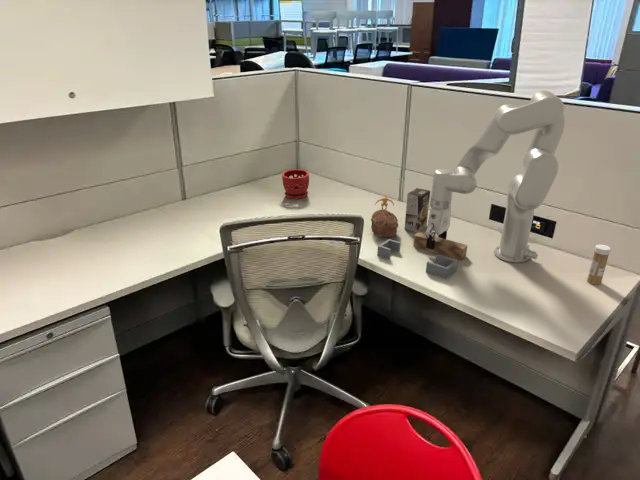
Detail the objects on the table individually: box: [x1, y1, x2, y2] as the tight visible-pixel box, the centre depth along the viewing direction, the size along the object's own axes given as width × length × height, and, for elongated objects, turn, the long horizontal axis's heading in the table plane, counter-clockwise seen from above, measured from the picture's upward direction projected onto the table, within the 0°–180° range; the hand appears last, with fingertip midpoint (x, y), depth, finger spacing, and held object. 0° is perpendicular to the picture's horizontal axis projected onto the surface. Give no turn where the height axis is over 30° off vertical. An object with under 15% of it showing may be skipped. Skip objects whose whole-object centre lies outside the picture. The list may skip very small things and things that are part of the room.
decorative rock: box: [370, 208, 399, 238], centre depth 202 cm, size 13×11×10 cm
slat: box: [413, 231, 468, 261], centre depth 189 cm, size 20×4×5 cm, turn 53°
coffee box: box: [404, 187, 431, 233], centre depth 206 cm, size 9×6×16 cm
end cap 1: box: [376, 238, 401, 260], centre depth 187 cm, size 5×8×4 cm, turn 141°
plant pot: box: [281, 169, 310, 200], centre depth 241 cm, size 13×13×12 cm
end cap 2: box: [425, 253, 459, 280], centre depth 174 cm, size 8×8×4 cm
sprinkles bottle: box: [586, 243, 612, 286], centre depth 165 cm, size 5×5×13 cm
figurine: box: [374, 194, 395, 210], centre depth 214 cm, size 8×6×12 cm
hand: (436, 244), depth 189 cm, fingers open, 9 cm apart
